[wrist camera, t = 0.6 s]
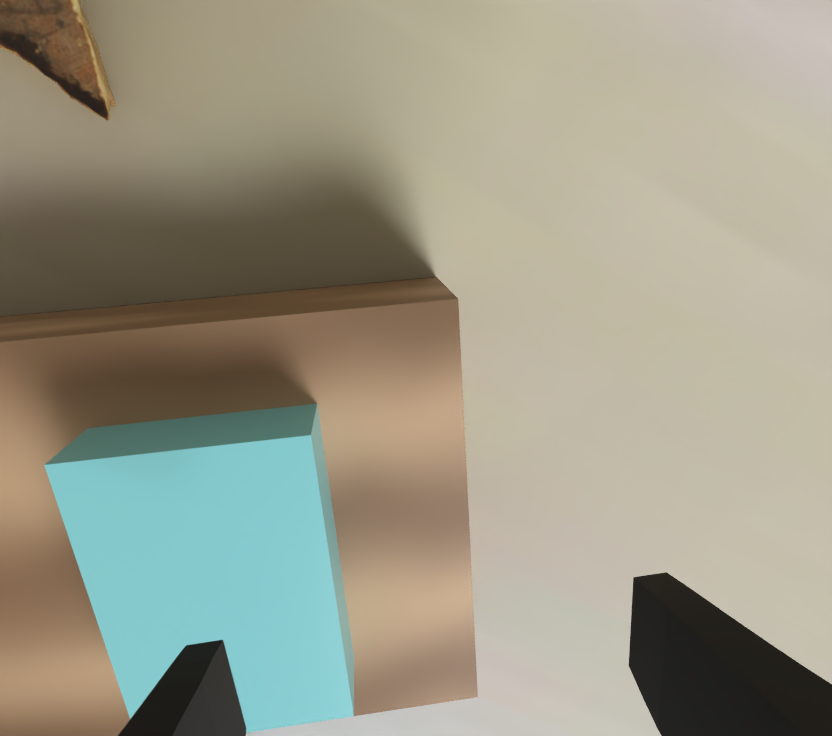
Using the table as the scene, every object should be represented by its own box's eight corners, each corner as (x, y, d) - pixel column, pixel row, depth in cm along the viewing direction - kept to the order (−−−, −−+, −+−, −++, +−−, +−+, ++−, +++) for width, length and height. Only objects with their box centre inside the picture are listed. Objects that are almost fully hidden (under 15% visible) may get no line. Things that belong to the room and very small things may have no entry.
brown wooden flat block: (457, 610, 22) (477, 696, 18) (60, 666, 21) (-8, 771, 17) (436, 277, 17) (457, 298, 14) (-71, 323, 16) (-202, 361, 12)
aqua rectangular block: (354, 658, 17) (353, 716, 15) (165, 685, 16) (140, 748, 15) (317, 403, 14) (310, 435, 12) (87, 428, 14) (43, 465, 12)
